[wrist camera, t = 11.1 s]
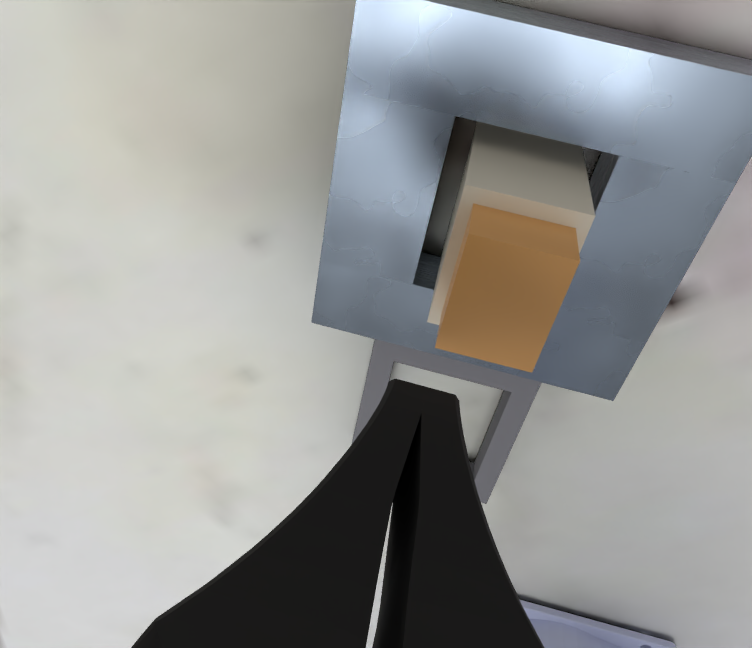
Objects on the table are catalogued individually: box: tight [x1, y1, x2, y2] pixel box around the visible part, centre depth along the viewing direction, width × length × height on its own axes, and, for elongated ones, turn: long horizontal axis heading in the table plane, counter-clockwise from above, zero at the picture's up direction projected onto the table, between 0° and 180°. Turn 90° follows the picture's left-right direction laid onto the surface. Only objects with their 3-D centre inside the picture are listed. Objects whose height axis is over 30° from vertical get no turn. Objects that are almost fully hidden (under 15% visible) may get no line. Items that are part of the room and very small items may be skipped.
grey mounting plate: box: [352, 339, 542, 504], centre depth 24 cm, size 6×7×1 cm
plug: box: [427, 121, 595, 373], centre depth 17 cm, size 3×4×6 cm
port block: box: [312, 0, 752, 401], centre depth 18 cm, size 10×10×2 cm
